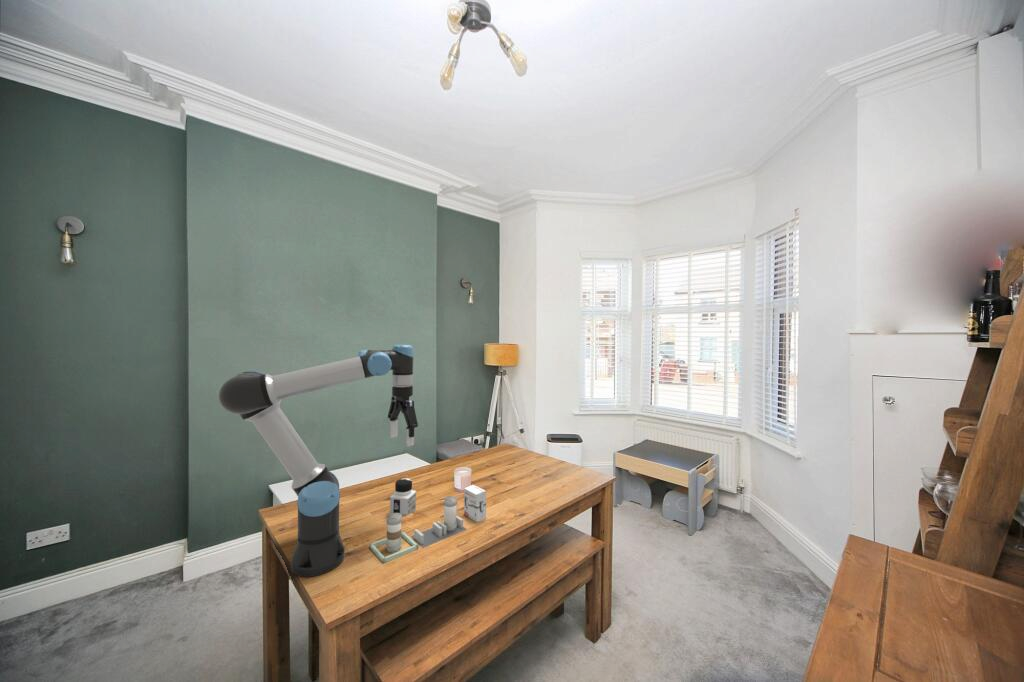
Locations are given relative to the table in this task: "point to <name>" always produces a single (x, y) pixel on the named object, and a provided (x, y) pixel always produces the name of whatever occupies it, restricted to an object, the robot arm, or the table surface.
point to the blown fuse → (394, 532)
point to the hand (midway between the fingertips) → (401, 441)
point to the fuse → (450, 513)
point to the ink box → (475, 503)
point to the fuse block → (436, 533)
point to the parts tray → (395, 555)
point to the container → (403, 497)
